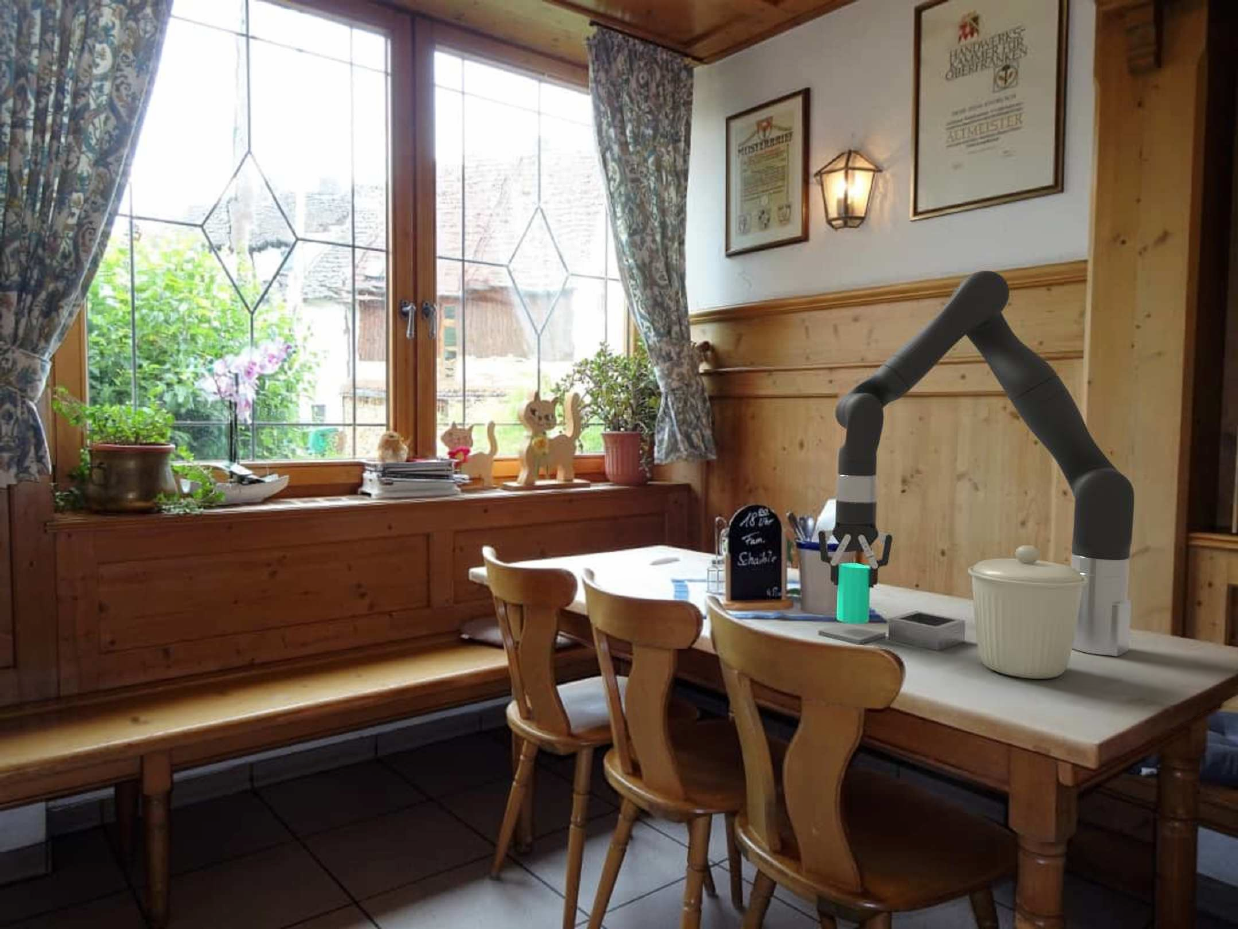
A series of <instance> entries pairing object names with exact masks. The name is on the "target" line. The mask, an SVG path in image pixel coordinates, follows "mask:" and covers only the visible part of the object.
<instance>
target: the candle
mask: <svg viewBox="0 0 1238 929" xmlns="http://www.w3.org/2000/svg"><path fill="white" fill-rule="evenodd" d="M838 565H839V566H838V585H837V596H836V597H837V599H836V619H837V621H839V622H842V623H846V624H858V625H859V624H866V623H869V621H870V594H871V592H870V591H871V588H870V568H871V565H863V564H861V563H857V562H856V557H853V562H849V563H841V564H838Z"/></svg>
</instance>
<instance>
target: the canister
mask: <svg viewBox="0 0 1238 929" xmlns="http://www.w3.org/2000/svg"><path fill="white" fill-rule="evenodd" d="M1039 556H1040V551H1039V550H1038V549H1037V548H1036V547H1035V546H1032V545H1020V546H1019V547H1017V548H1016V550H1015V558H991V559H985V560H982V561H981V560H980V561H978V562H977V563H976V564H974V565H972V566H969V567H968V568H967V572H968V574H969V575H970V576H971V581H972V584H971V585H972V586H971V587H972V600H973V609H974V610H973V611H974V623H975V625H974V626H975V634H976V642H977V643H976V644H977V650H978V651H977V652H978V654H979V658H980V660H981V662H982V663H983V664H984V666H986V667H988V669H990V670H992V671H995V672H997V673H999V674H1000V673H1001V675H1005V676H1006V675H1007V676H1011V677H1017V678H1021V679H1022V678H1023V679H1033V680H1035V679H1037V680H1039V679H1043V680H1044V679H1052V678H1056V677H1059V676H1060V675H1062V674H1063V673H1064V672H1065V671H1066V669H1067V668H1068V666H1069V663H1070V660H1071V655H1072V650H1073V648H1072V646H1073V641H1074V636H1075V631H1076V625H1077V619H1078V613H1079V607H1080V602H1081V595H1082V589H1083V585H1085V584H1086V583H1087V582H1088V578H1087V577H1086V576H1084V575H1081V574H1080V573H1079V572H1078V571H1077V570H1075V569H1073V568H1071V566H1068V565H1065V564H1060V563H1056V562H1051V561H1046V560H1039Z"/></svg>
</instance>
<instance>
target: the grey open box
mask: <svg viewBox="0 0 1238 929" xmlns="http://www.w3.org/2000/svg"><path fill="white" fill-rule="evenodd" d="M887 637H888V639H887V640H890V641H894V642H898V643H903V644H907V645H911V646H914V647H920V648H924V649H929V650H933V651H941V650H945V649H946V648H950V647H953V646H955V645H959V644H961V643H964V642H965V640H966V639H965V638H966V620H965V619H960V618H955V617H949V616H945V615H939V614H935V613H930V612H924V611H918V610H914V611H910V612H907V613H903V614H901V615H897V616H893V617H890V618H889V617H888V636H887Z"/></svg>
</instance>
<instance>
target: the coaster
mask: <svg viewBox="0 0 1238 929" xmlns="http://www.w3.org/2000/svg"><path fill="white" fill-rule="evenodd" d="M817 633H818V635H819V636H823V637H826V638H830V639H835V640H839V641H843V642H847V643H852V644H856V645H862V644H864V643H863V642H866V643H869V642H872V641H875V640H878V639H881V638H882V639H883V638H885V637H886V634H887V633H886V631H881V630H878V629H873V628H868V627H863V626H859V625H854V624H852V623H847V622H843V623H842V624H838V625H834V626H830V627H827V628H822V629H819V630H818V632H817Z"/></svg>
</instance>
